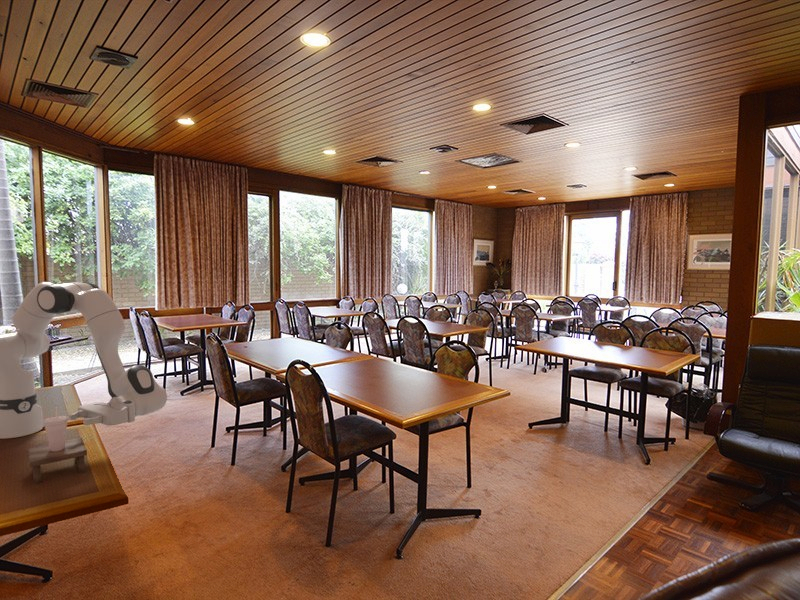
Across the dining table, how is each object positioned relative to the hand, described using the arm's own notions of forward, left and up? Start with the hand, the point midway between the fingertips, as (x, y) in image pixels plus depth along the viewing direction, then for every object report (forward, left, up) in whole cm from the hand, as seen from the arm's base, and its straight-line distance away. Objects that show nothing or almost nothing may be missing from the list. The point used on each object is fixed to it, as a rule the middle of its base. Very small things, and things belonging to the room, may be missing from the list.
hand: (76, 420), depth 152 cm
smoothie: (0, -6, -8) cm, 10 cm away
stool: (0, -6, -15) cm, 16 cm away
